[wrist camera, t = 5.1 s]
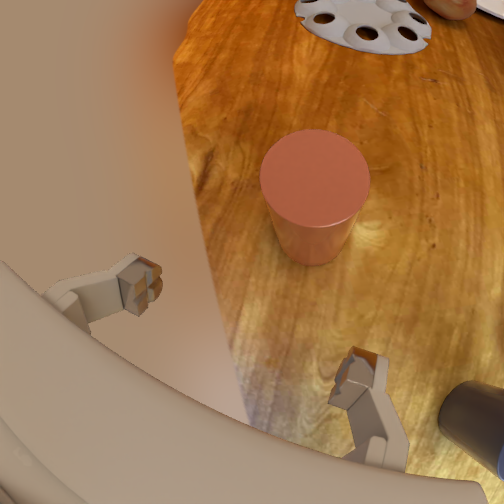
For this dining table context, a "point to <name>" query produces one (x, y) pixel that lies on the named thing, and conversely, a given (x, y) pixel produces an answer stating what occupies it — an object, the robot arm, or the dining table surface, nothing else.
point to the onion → (453, 8)
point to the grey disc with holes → (366, 24)
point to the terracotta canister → (314, 193)
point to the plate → (492, 7)
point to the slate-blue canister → (476, 423)
